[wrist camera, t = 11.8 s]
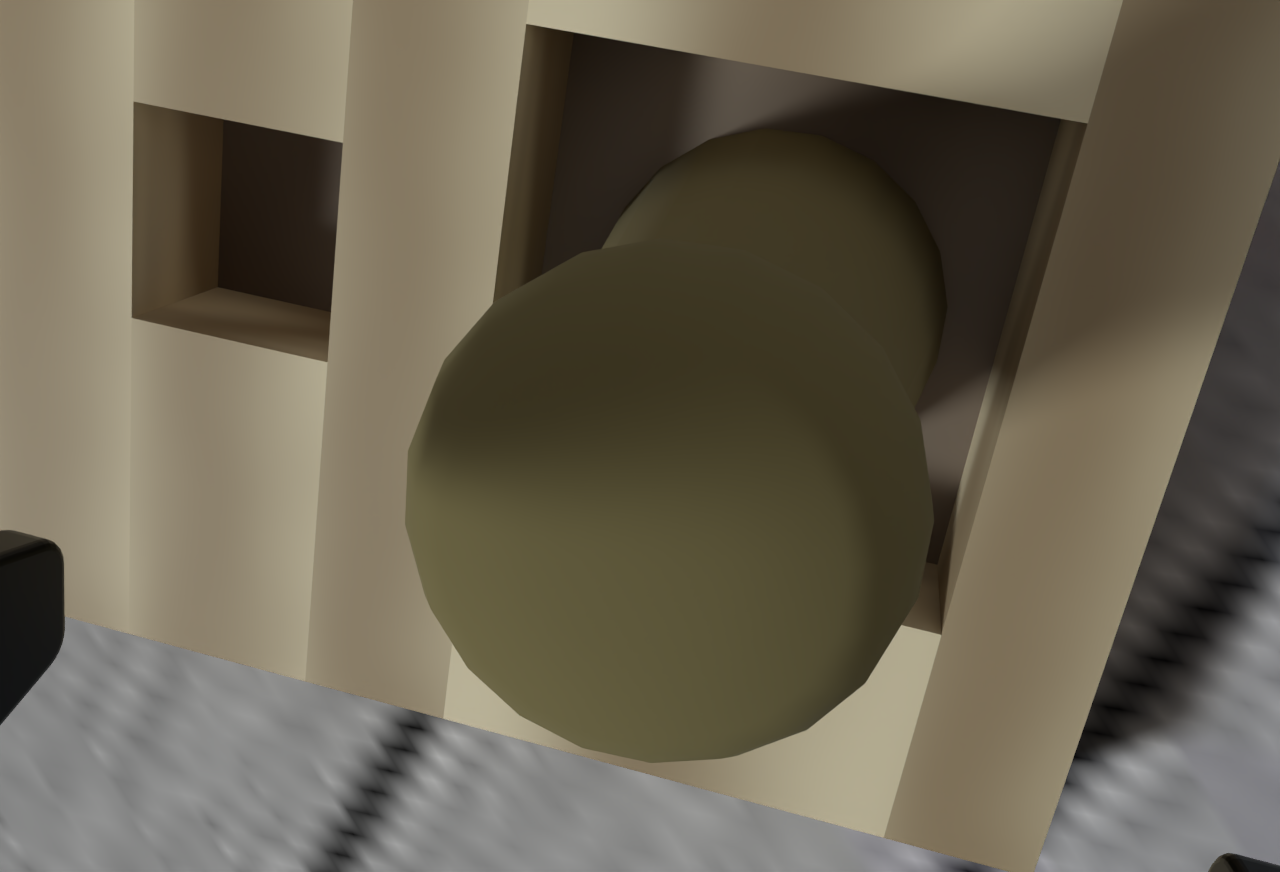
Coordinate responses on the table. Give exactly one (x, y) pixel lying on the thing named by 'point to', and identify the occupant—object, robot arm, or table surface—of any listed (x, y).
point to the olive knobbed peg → (692, 457)
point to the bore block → (582, 221)
